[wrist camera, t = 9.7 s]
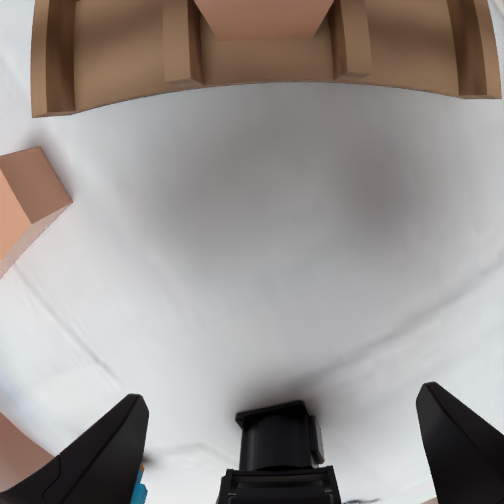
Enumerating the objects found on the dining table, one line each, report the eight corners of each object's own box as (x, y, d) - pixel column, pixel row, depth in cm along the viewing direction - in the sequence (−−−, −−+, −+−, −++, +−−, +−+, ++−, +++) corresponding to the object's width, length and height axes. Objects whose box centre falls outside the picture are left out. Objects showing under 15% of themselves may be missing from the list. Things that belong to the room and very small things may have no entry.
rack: (464, 99, 15) (501, 99, 11) (69, 115, 17) (32, 118, 13) (447, -17, 11) (477, -34, 8) (70, 0, 13) (37, -14, 9)
